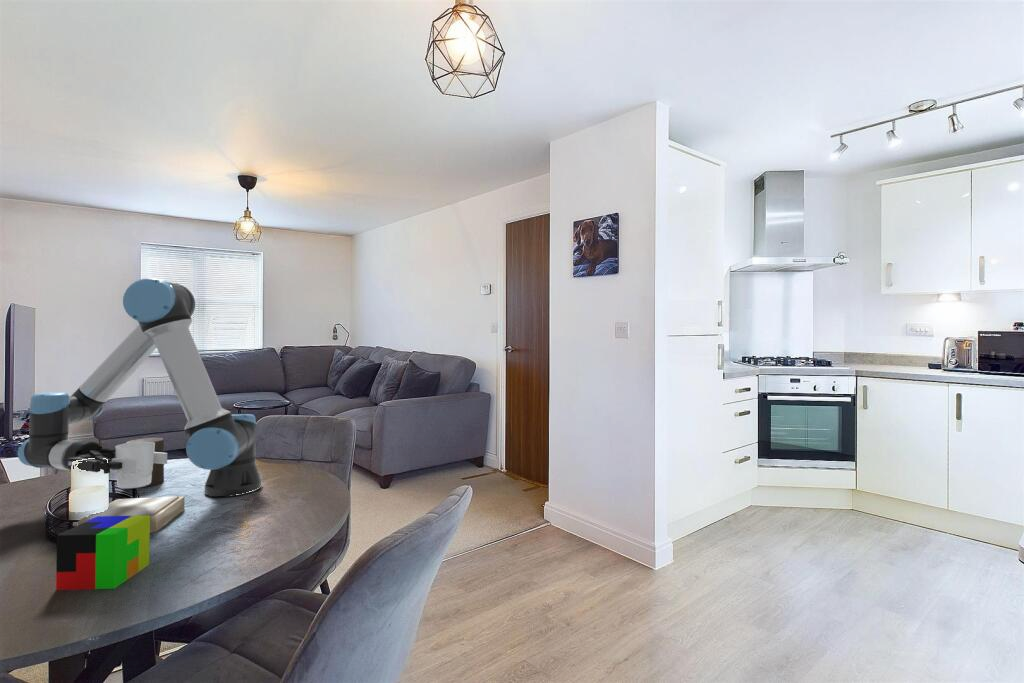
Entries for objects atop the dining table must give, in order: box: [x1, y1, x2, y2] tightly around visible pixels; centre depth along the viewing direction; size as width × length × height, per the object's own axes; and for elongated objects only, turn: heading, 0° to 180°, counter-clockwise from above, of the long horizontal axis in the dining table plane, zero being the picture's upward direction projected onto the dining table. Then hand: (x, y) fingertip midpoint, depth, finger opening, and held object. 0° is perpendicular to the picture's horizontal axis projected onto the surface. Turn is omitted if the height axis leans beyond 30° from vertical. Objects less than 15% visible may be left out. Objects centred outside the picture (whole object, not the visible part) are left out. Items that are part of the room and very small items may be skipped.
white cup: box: [114, 442, 155, 489], centre depth 125 cm, size 8×8×10 cm
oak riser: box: [77, 495, 186, 533], centre depth 125 cm, size 16×16×4 cm
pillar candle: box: [126, 435, 165, 488], centre depth 158 cm, size 10×10×15 cm
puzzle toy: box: [55, 516, 151, 591], centre depth 97 cm, size 10×10×10 cm
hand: (150, 462), depth 124 cm, fingers closed on white cup, 8 cm apart
